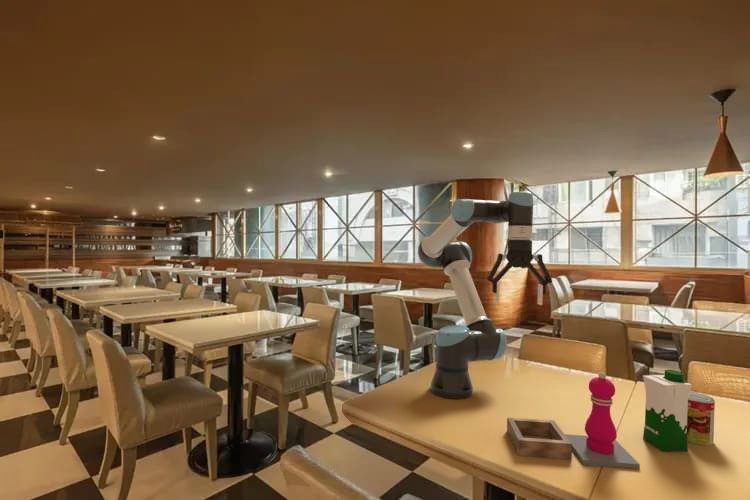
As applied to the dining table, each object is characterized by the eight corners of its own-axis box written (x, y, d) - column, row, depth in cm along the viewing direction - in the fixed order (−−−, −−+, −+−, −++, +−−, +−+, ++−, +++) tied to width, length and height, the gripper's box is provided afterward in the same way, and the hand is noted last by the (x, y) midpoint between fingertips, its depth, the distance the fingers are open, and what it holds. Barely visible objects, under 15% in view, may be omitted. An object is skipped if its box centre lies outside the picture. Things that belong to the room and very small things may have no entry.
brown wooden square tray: (518, 455, 99) (518, 440, 99) (506, 431, 112) (507, 417, 112) (571, 459, 98) (572, 443, 97) (553, 434, 110) (554, 420, 110)
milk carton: (694, 452, 102) (696, 377, 101) (662, 453, 101) (664, 377, 101) (666, 436, 110) (668, 366, 110) (636, 437, 110) (638, 367, 109)
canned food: (675, 429, 115) (676, 389, 115) (709, 436, 111) (711, 394, 111) (679, 440, 108) (681, 398, 108) (716, 448, 104) (718, 404, 104)
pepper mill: (621, 457, 97) (623, 378, 96) (589, 453, 98) (591, 375, 98) (609, 442, 104) (611, 369, 103) (580, 439, 105) (582, 366, 105)
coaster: (583, 464, 95) (583, 459, 95) (563, 438, 108) (563, 434, 108) (639, 469, 94) (639, 464, 94) (612, 441, 107) (613, 437, 107)
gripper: (482, 238, 124) (481, 304, 125) (564, 239, 121) (562, 306, 122) (479, 238, 132) (477, 300, 132) (555, 239, 129) (554, 303, 129)
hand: (518, 303), depth 127 cm, fingers open, 13 cm apart
